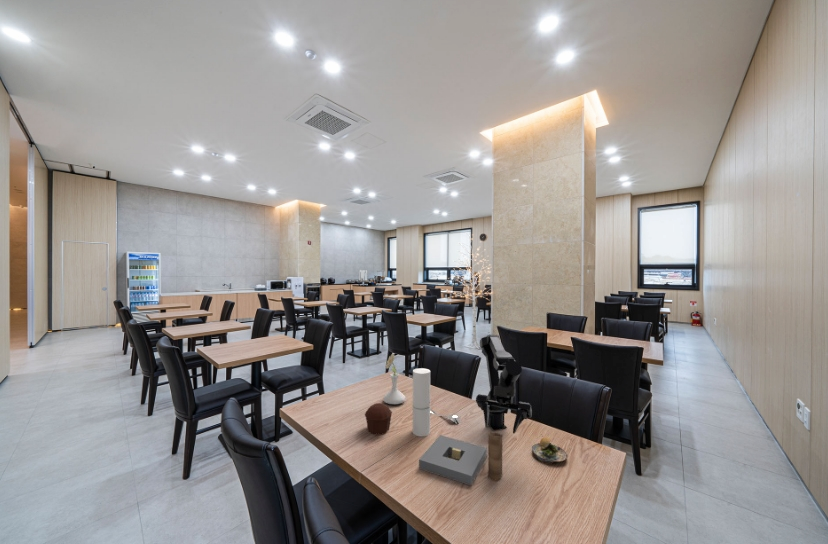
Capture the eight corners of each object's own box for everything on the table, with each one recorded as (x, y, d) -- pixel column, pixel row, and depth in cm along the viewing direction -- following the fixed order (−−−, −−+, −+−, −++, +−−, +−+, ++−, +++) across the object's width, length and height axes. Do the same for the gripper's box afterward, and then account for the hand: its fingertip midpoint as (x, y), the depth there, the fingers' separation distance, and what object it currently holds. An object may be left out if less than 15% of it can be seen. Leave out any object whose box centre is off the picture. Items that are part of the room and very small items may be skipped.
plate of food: (553, 470, 105) (553, 447, 105) (524, 453, 115) (524, 432, 115) (574, 459, 111) (574, 438, 111) (545, 444, 121) (545, 424, 121)
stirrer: (421, 403, 148) (428, 401, 152) (421, 411, 148) (427, 408, 152) (456, 420, 135) (462, 416, 138) (456, 428, 135) (462, 424, 138)
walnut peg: (489, 471, 103) (490, 431, 104) (502, 474, 102) (502, 434, 102) (486, 478, 100) (487, 437, 100) (499, 482, 98) (499, 440, 98)
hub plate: (440, 443, 121) (440, 435, 121) (486, 455, 112) (486, 447, 112) (418, 468, 105) (419, 459, 105) (471, 485, 96) (471, 475, 96)
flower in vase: (385, 396, 165) (386, 349, 166) (407, 398, 164) (407, 350, 164) (379, 407, 153) (380, 355, 153) (402, 408, 151) (403, 356, 151)
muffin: (367, 422, 137) (367, 399, 137) (393, 422, 137) (393, 399, 137) (362, 436, 125) (362, 411, 125) (390, 437, 125) (390, 411, 125)
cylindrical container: (432, 429, 131) (432, 369, 131) (427, 437, 124) (427, 374, 125) (415, 426, 133) (416, 367, 134) (410, 434, 127) (410, 372, 127)
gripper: (477, 372, 116) (467, 413, 106) (530, 380, 107) (526, 426, 97) (482, 386, 123) (474, 427, 113) (533, 395, 114) (529, 440, 104)
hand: (499, 429), depth 107 cm, fingers open, 9 cm apart
